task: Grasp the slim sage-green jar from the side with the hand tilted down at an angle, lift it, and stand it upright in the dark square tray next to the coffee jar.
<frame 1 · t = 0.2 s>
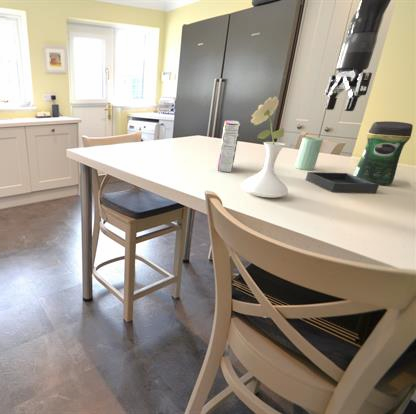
hand: (338, 110, 89), 21 cm above the table, tool pointing down, fingers open, 8 cm apart
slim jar: (304, 168, 106), on the table
dark square tray: (338, 186, 86), on the table
coffee jar: (370, 182, 91), on the table
flower in vase: (259, 194, 77), on the table
candy bar box: (224, 169, 103), on the table
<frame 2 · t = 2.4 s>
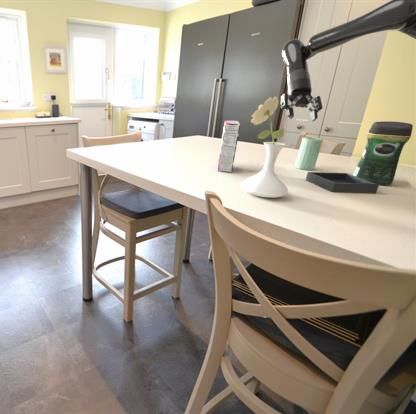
hand: (302, 119, 108), 17 cm above the table, tool tilted 40°, fingers open, 8 cm apart
nothing on the table moved.
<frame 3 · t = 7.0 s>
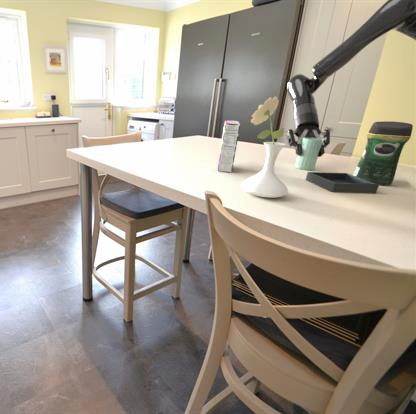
hand: (310, 155, 102), 5 cm above the table, tool tilted 45°, fingers closed on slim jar, 6 cm apart
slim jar: (304, 168, 106), on the table, touching gripper
everything else where it was.
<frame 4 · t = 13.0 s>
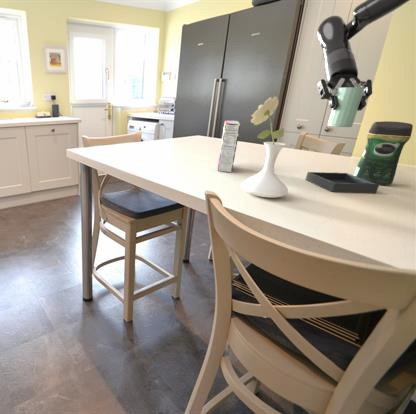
hand: (348, 108, 84), 22 cm above the table, tool tilted 45°, fingers closed on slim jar, 6 cm apart
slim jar: (339, 126, 88), point 17 cm above the table, touching gripper
everything else where it was.
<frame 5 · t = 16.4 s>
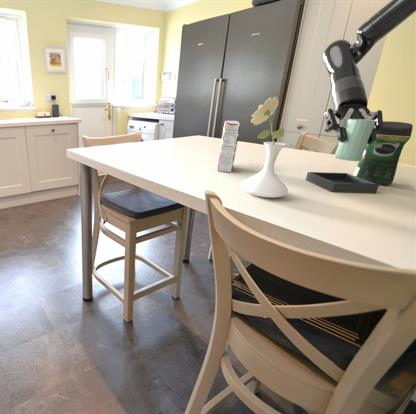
hand: (357, 141, 79), 14 cm above the table, tool tilted 45°, fingers closed on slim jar, 6 cm apart
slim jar: (347, 158, 83), point 8 cm above the table, touching gripper
everything else where it was.
when the fingers open (6 cm above the table, at t = 19.1 s): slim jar stays where it is, resting on dark square tray.
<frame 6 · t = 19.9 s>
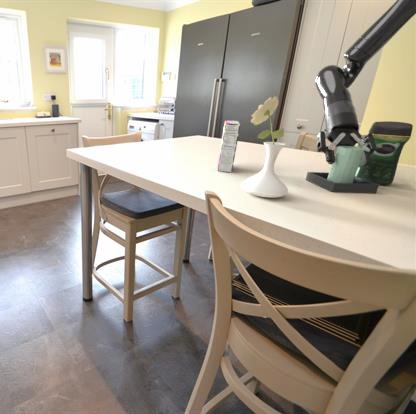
hand: (348, 163, 82), 7 cm above the table, tool tilted 45°, fingers open, 8 cm apart
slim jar: (338, 184, 86), point 1 cm above the table, touching dark square tray
everything else where it was.
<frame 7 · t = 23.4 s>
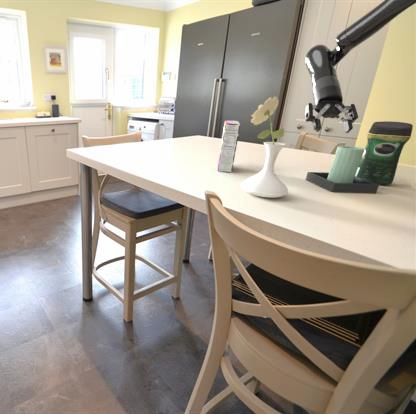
hand: (333, 130, 92), 15 cm above the table, tool tilted 45°, fingers open, 8 cm apart
nothing on the table moved.
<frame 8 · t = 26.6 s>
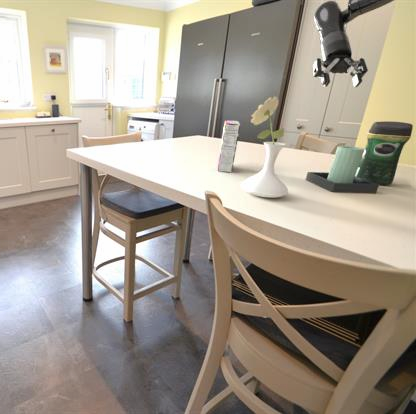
hand: (342, 84, 90), 29 cm above the table, tool tilted 45°, fingers open, 8 cm apart
nothing on the table moved.
at the end: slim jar inside the target area in the dark square tray (0.1 cm from its centre), point 0.6 cm above the dark square tray's base; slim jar tilted 0°; the gripper is holding nothing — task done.
